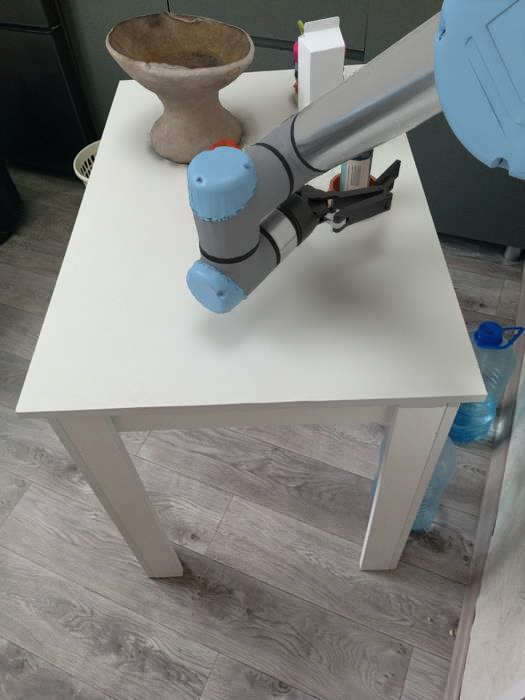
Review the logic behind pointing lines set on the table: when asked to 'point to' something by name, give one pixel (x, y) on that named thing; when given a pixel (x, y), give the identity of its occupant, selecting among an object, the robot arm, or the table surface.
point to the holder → (336, 184)
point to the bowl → (184, 76)
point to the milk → (319, 59)
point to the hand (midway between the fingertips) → (359, 153)
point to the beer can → (356, 172)
